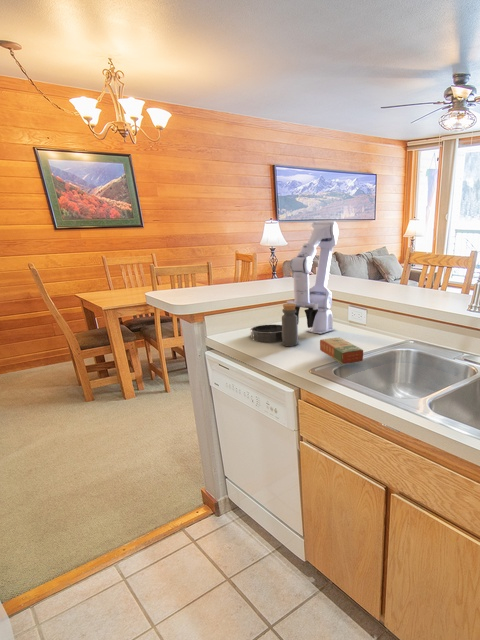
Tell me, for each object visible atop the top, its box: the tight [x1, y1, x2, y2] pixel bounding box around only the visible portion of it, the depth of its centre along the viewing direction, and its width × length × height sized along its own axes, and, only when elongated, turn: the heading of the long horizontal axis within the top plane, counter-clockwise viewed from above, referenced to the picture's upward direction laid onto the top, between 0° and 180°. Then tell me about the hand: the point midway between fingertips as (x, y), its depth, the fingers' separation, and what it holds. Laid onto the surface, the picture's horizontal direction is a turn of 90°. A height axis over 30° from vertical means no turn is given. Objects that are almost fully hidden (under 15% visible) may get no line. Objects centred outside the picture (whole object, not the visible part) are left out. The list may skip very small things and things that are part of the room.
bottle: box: [281, 302, 299, 347], centre depth 154 cm, size 6×6×15 cm
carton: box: [319, 336, 364, 365], centre depth 140 cm, size 8×16×4 cm, turn 30°
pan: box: [250, 324, 283, 344], centre depth 165 cm, size 15×15×4 cm
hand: (302, 326), depth 161 cm, fingers open, 7 cm apart
